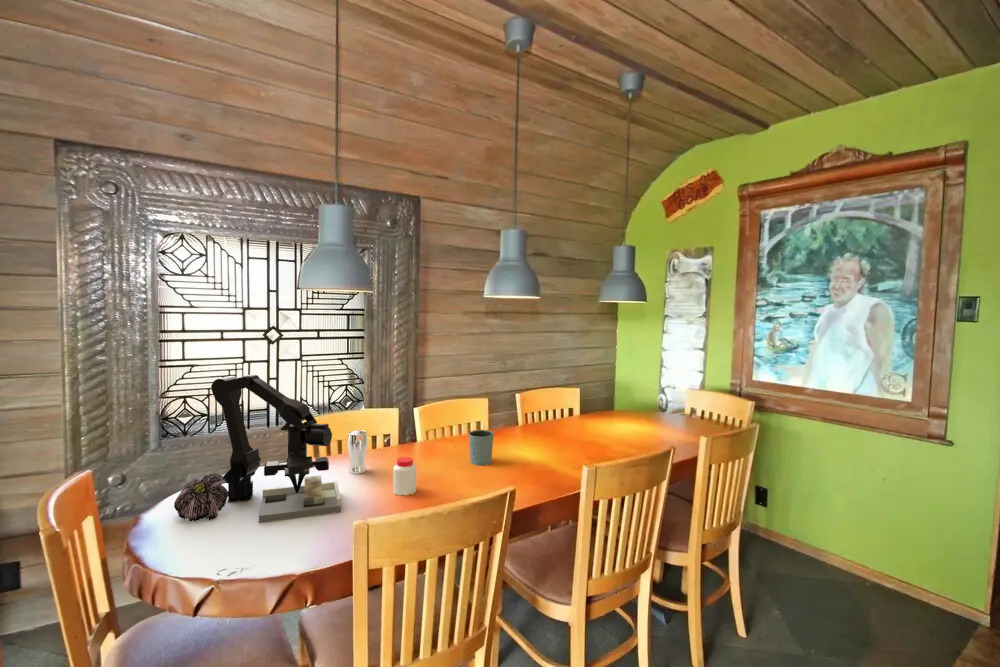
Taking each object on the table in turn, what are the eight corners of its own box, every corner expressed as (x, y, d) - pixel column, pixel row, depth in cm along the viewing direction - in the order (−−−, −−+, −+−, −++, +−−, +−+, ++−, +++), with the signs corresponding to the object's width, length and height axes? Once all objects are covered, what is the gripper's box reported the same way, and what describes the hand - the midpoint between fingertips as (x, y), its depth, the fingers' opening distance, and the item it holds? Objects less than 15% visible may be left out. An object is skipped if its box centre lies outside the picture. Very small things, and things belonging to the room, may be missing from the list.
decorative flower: (159, 491, 139) (198, 460, 153) (159, 522, 143) (197, 489, 157) (206, 507, 138) (241, 475, 152) (205, 538, 142) (239, 504, 156)
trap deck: (258, 522, 142) (258, 509, 142) (262, 501, 157) (262, 489, 157) (340, 512, 150) (340, 499, 150) (337, 492, 165) (337, 481, 165)
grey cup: (494, 458, 205) (495, 430, 204) (491, 466, 195) (492, 437, 194) (470, 457, 206) (470, 429, 205) (466, 465, 196) (466, 435, 195)
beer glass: (347, 475, 182) (347, 435, 181) (348, 468, 189) (348, 430, 188) (366, 473, 184) (367, 434, 183) (366, 467, 191) (367, 429, 190)
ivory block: (304, 497, 155) (304, 482, 155) (304, 492, 160) (304, 477, 160) (321, 496, 157) (321, 480, 157) (320, 490, 162) (321, 475, 162)
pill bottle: (413, 485, 173) (414, 455, 172) (418, 494, 166) (418, 461, 165) (391, 488, 170) (391, 457, 170) (394, 496, 163) (395, 464, 162)
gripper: (262, 454, 145) (262, 506, 146) (329, 448, 152) (329, 498, 153) (265, 443, 155) (265, 492, 156) (328, 439, 162) (327, 485, 163)
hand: (297, 492), depth 157 cm, fingers closed
